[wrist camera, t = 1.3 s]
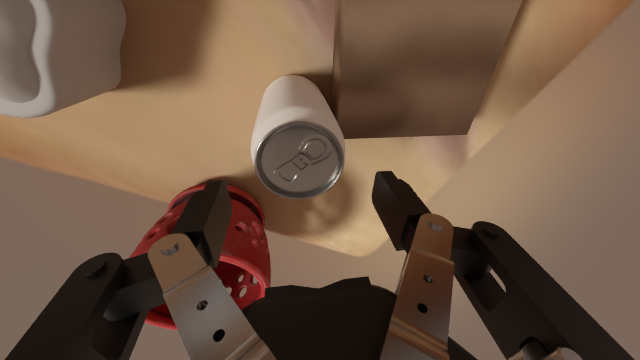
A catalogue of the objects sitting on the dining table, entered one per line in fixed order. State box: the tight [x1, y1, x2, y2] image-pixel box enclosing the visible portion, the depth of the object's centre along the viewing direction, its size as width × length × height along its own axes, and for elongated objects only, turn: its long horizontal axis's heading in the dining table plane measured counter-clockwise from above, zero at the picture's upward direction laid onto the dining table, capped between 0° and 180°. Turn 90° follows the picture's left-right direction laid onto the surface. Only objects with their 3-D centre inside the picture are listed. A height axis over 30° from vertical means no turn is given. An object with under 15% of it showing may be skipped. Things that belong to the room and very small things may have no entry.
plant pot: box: [130, 184, 271, 330], centre depth 26 cm, size 13×13×12 cm
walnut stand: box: [331, 0, 522, 139], centre depth 21 cm, size 14×14×4 cm
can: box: [251, 75, 345, 200], centre depth 19 cm, size 6×6×12 cm
